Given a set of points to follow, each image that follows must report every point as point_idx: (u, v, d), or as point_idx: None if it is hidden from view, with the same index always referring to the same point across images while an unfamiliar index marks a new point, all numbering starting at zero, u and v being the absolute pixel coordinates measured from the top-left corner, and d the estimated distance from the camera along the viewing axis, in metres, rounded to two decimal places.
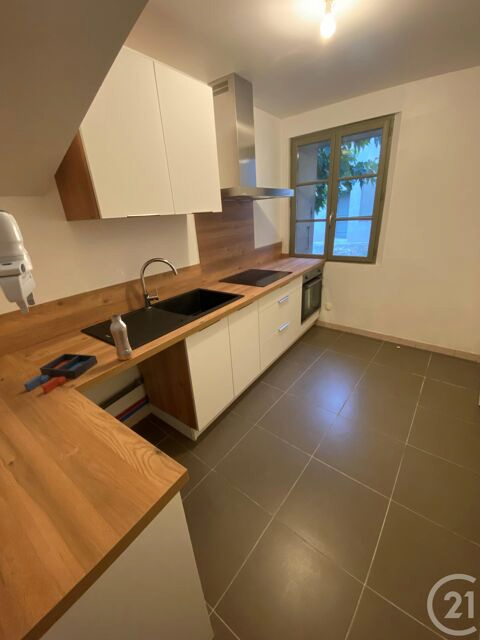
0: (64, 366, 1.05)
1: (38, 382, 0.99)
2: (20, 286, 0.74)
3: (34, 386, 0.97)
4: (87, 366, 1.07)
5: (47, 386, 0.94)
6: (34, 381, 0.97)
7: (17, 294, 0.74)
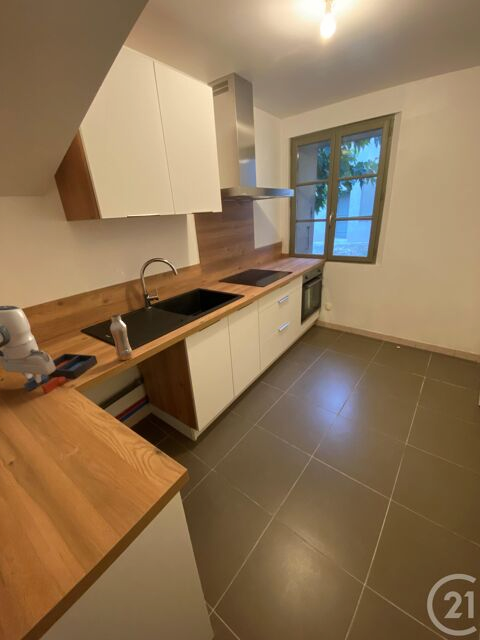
0: (64, 366, 1.05)
1: None
2: (0, 362, 0.95)
3: (34, 386, 0.97)
4: (87, 366, 1.07)
5: (47, 386, 0.94)
6: None
7: None
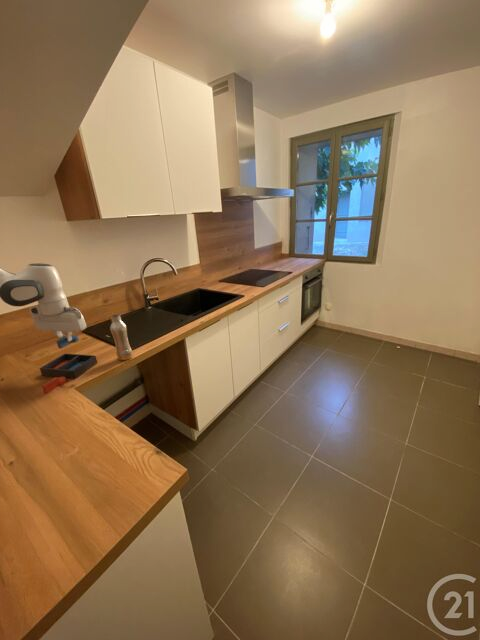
0: (64, 366, 1.05)
1: (69, 341, 1.02)
2: (33, 320, 0.99)
3: (65, 344, 1.01)
4: (87, 366, 1.07)
5: (47, 386, 0.94)
6: (65, 339, 1.01)
7: None
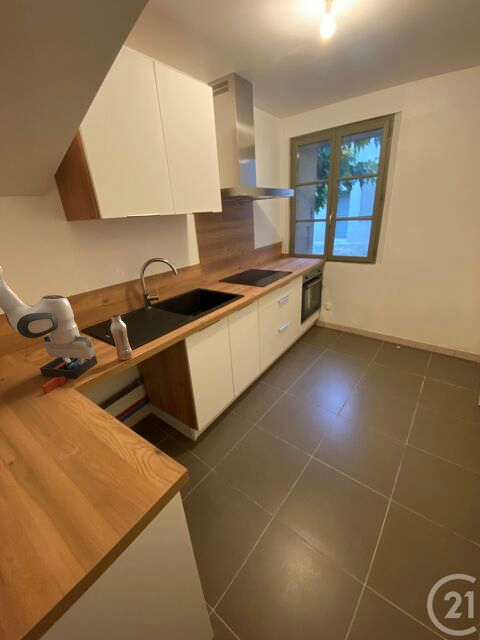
0: (64, 366, 1.05)
1: None
2: (45, 347, 1.04)
3: None
4: (87, 366, 1.07)
5: (47, 386, 0.94)
6: (76, 364, 1.06)
7: None
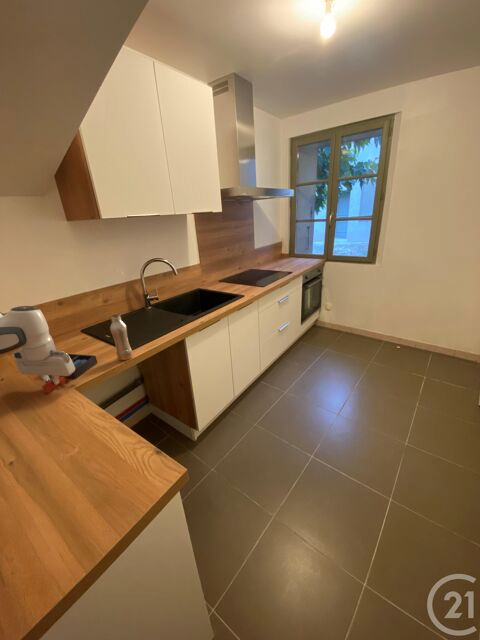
0: None
1: (79, 365, 1.07)
2: (16, 364, 0.93)
3: None
4: (87, 366, 1.07)
5: (47, 386, 0.94)
6: (76, 364, 1.06)
7: None
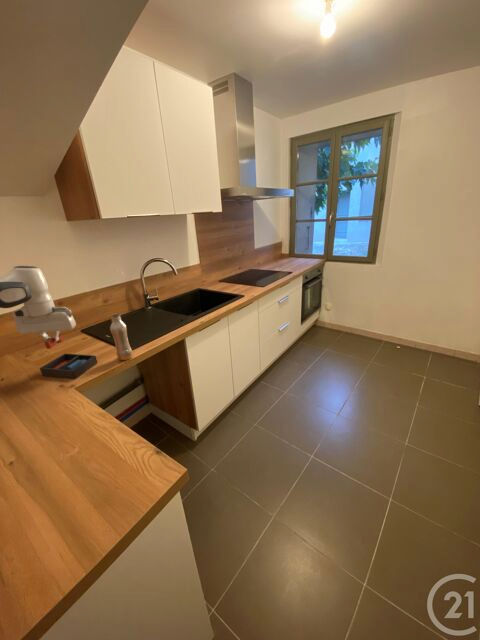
0: (64, 366, 1.05)
1: (79, 365, 1.07)
2: None
3: None
4: (87, 366, 1.07)
5: (49, 342, 1.01)
6: (76, 364, 1.06)
7: None
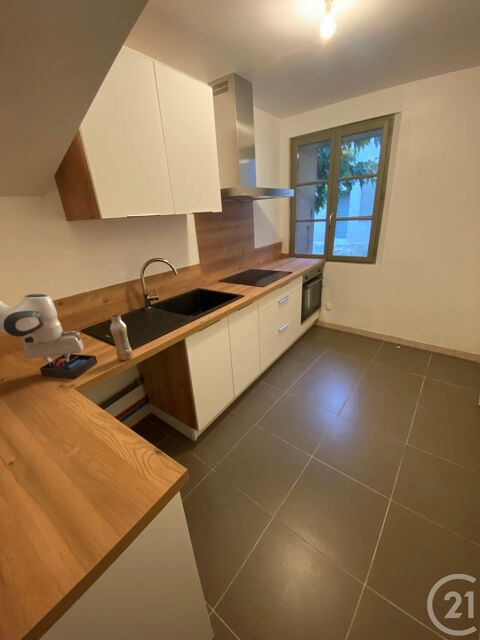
0: (64, 366, 1.05)
1: (79, 365, 1.07)
2: (24, 350, 1.01)
3: None
4: (87, 366, 1.07)
5: (59, 365, 1.06)
6: (76, 364, 1.06)
7: None
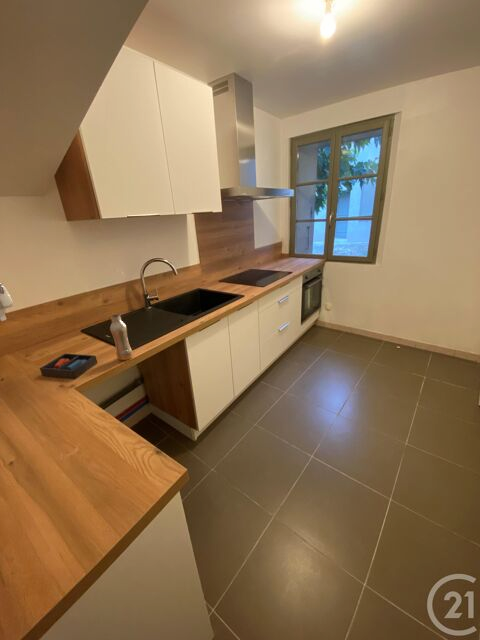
0: (64, 366, 1.05)
1: (79, 365, 1.07)
2: None
3: None
4: (87, 366, 1.07)
5: (59, 365, 1.06)
6: (76, 364, 1.06)
7: None
